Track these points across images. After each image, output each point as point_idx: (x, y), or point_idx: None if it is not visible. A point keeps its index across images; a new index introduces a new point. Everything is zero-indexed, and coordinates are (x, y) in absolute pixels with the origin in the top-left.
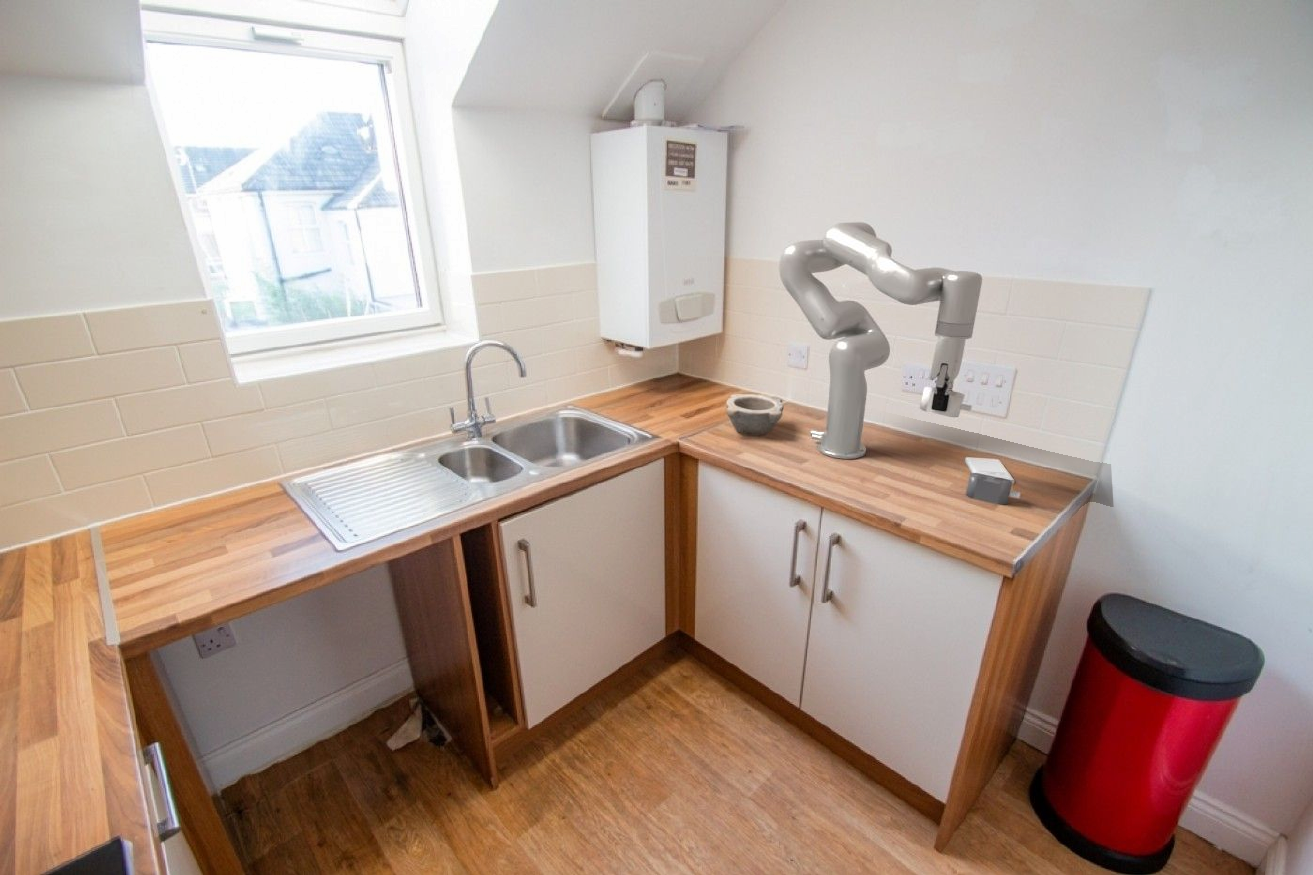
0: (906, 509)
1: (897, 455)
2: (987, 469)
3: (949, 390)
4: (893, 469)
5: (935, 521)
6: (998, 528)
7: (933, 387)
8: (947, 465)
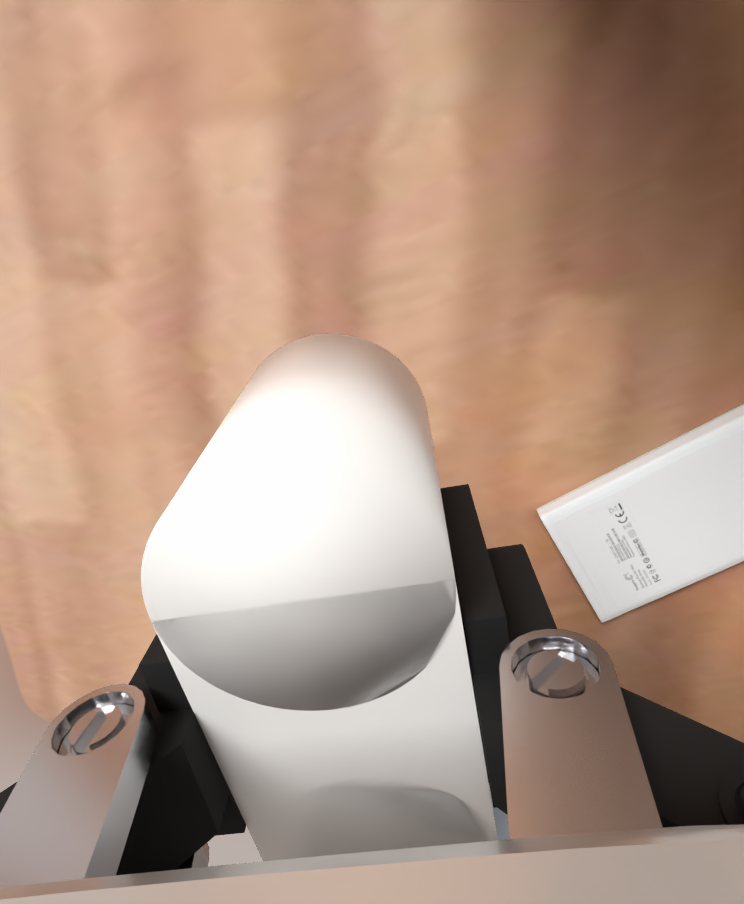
0: (48, 396)
1: (637, 59)
2: (658, 522)
3: (487, 772)
4: (408, 148)
5: (56, 510)
6: None
7: (429, 574)
8: (646, 351)
